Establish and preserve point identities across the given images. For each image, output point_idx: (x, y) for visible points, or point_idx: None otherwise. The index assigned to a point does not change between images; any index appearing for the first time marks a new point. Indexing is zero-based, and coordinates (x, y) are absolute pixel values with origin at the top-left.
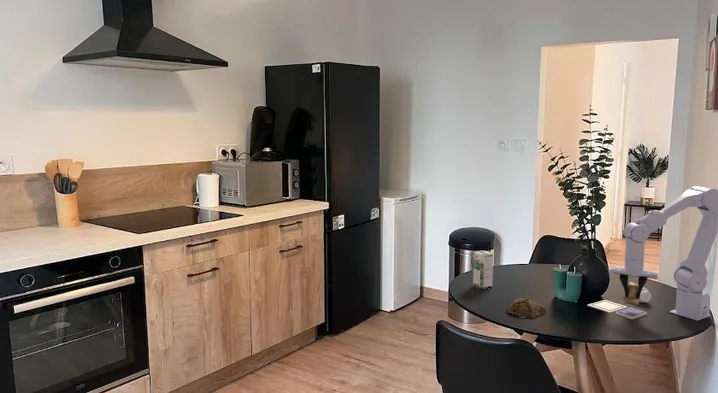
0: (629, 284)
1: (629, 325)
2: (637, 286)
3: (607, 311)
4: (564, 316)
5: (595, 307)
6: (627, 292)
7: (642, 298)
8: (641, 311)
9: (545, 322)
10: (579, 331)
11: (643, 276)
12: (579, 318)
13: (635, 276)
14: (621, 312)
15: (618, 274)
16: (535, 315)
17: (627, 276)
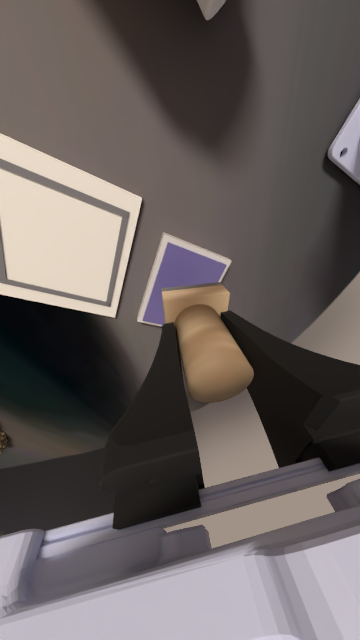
0: (197, 386)
1: None
2: (248, 381)
3: (104, 315)
4: (42, 405)
5: (43, 302)
6: (180, 360)
7: (215, 4)
8: (215, 273)
9: (46, 440)
10: None
11: (356, 471)
12: (78, 395)
13: (277, 479)
14: (156, 322)
15: (111, 524)
16: (2, 445)
17: (198, 479)
